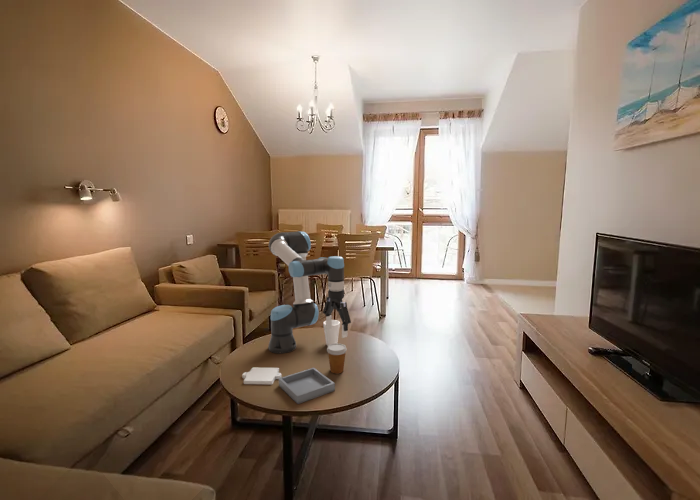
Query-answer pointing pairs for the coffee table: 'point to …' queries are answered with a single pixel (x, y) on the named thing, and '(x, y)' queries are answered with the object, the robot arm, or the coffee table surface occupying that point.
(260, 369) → the mounting plate
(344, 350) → the disposable coffee cup
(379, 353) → the coffee table surface
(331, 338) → the foam cup
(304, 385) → the slate tray
